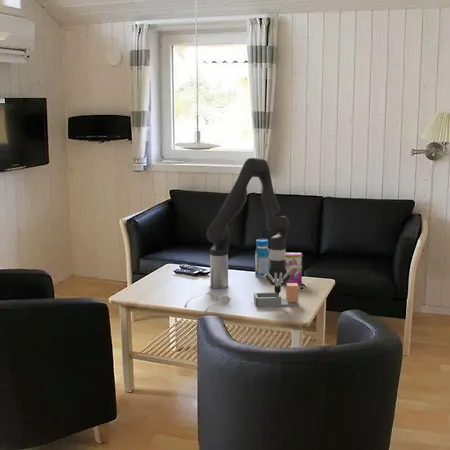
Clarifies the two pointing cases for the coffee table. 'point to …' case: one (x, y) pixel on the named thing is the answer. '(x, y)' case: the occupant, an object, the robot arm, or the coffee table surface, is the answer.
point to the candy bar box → (294, 267)
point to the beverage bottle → (262, 258)
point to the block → (292, 292)
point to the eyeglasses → (215, 297)
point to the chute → (271, 300)
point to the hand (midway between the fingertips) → (277, 293)
